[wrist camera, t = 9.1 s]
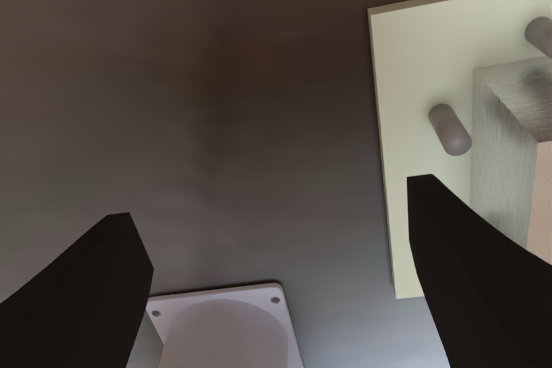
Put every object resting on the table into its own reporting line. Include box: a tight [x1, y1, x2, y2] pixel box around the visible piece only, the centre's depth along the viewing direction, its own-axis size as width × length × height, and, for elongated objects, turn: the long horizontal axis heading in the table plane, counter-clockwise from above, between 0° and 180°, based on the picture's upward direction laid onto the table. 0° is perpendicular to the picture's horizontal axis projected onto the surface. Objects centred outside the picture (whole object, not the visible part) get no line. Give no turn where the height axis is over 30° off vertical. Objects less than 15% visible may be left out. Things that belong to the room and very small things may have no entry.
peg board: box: [367, 0, 552, 299], centre depth 20 cm, size 15×12×4 cm
